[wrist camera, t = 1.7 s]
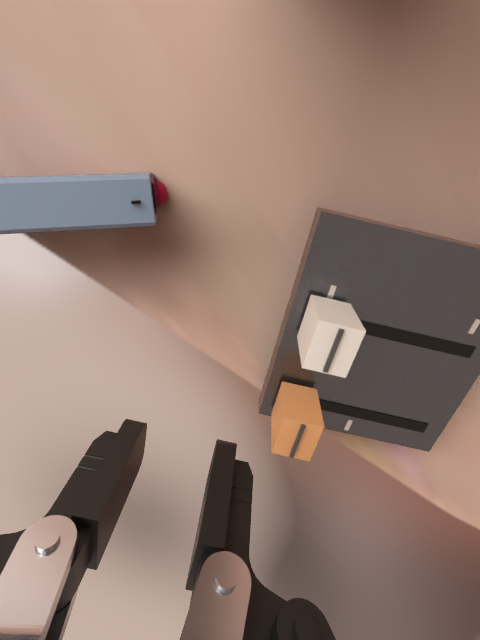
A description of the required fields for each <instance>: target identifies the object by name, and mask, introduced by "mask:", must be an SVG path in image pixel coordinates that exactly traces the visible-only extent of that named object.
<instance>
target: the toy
mask: <svg viewBox="0 0 480 640" xmlns="http://www.w3.org/2000/svg"><path fill="white" fill-rule="evenodd" d="M166 199H167V189H166V187H165V186H164V184H162V183H160V182H158V181H156V179H154V174H152V173H130V174H96V175H94V174H93V175H62V176H28V177H0V234H11V233H30V232H49V231H68V230H86V229H105V228H124V227H142V226H156V224H157V220H158V216H157V212H158V207H159V205H160V204H162V203H164V202H165V201H166Z"/></svg>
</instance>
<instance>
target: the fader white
mask: <svg viewBox="0 0 480 640" xmlns="http://www.w3.org/2000/svg"><path fill="white" fill-rule="evenodd" d="M365 333H366V330H365V328H364V327H363V325H362V323H361V321H360V319H359V318H358V316H357V314H356V312H355V310H354V309H353V307H352V305H351V304H350V303H346V302H341V301H337V300H333V299H329V298H324V297H320V296H316V295H311V296H310V299H309V302H308V305H307V308H306V311H305V314H304V317H303V320H302V323H301V326H300V329H299V332H298V335H297V340H298V346H299V353H300V360H301V366H302V368H304V369H308V370H313V371H317V372H321V373H326V374H330V375H335V376H339V377H343V378H346V376H347V374H348V372H349V370H350V367H351V365H352V363H353V360H354V358H355V356H356V354H357V351H358V349H359V347H360V344H361V342H362V340H363V337H364V335H365Z"/></svg>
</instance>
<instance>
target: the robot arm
mask: <svg viewBox="0 0 480 640" xmlns="http://www.w3.org/2000/svg"><path fill="white" fill-rule="evenodd" d="M146 430H147V423H142V422H138V421H133V420H129V419H126V420H125V421H124V422H123V424H122V426H121V428H120V429H119V431H118V433H114V432H109V431H106V432H104V433H103V434H102V435H100V436H99V437H98V438H97V439H95V440H94V441H93V442H92V444H91V446H90V447H89V449H88V450H87V452H86V454H85V456H84V457H83V458H82V460H81V461H80V463H79V465H78V467H77V468H76V469H75V471H74V472H73V474H72V476H71V477H70V479H69V480H68V482H67V484H66V485H65V487H64V488H63V490H62V492H61V493H60V495H59V496H58V498H57V500H56V501H55V503H54V504H53V506H52V508H51V509H50V510H49V512H48V513H47V514H46V515H45V516H44V517H43V518H41V519H39V520H37V521H36V522H34V523H33V524H31V525H30V526H29V527H28V528H27V529H25V530H22V531H19V532H16V533H11V534H3V535H0V640H62V638H63V635H64V632H65V629H66V626H67V623H68V620H69V617H70V613H71V610H72V607H73V604H74V601H75V598H76V594H77V589H78V586H79V584H80V582H81V580H82V578H83V575H84V573H85V571H86V569H87V568H90V569H95V570H97V568H98V565H99V563H100V561H101V558H102V556H103V554H104V551H105V549H106V546H107V544H108V542H109V539H110V537H111V535H112V532H113V530H114V528H115V525H116V523H117V521H118V518H119V516H120V513H121V511H122V509H123V506H124V504H125V502H126V499H127V497H128V495H129V492H130V490H131V488H132V485H133V483H134V481H135V478H136V476H137V474H138V471H139V468H140V466H141V462H142V459H143V454H144V447H145V438H146ZM236 447H237V444H236V443H231V442H227V441H222V440H217V441H216V446H215V449H214V453H213V457H212V461H211V465H210V470H209V474H208V478H207V483H206V488H205V493H204V498H203V504H202V509H201V514H200V518H199V523H198V528H197V534H196V538H195V544H194V549H193V554H192V559H191V564H190V569H189V574H188V579H187V584H186V589H187V590H191V591H193V592H192V597H191V602H190V608H189V611H188V615H187V618H186V621H185V625H184V628H183V631H182V634H181V637H180V640H336V639H335V637H334V635H333V633H332V631H331V628H330V626H329V624H328V622H327V620H326V618H325V616H324V615H323V613H322V612H321V611H320V610H319V609H318V607H316V606H315V605H314V604H313V603H311V602H310V601H308V600H305V599H302V598H294V599H291V600H289V601H285V600H284V599H282V598H281V597H279V596H278V595H276V594H274V593H273V592H271V591H270V590H268V589H267V588H266V587H264V586H263V585H262V584H261V583H260V582H259V580H258V579H257V578H256V577H255V574H254V572H253V570H252V568H251V564H250V561H249V543H250V524H251V504H252V488H253V475H252V472H251V469H250V466H249V464H248V462H244V461H239V460H235V455H236Z"/></svg>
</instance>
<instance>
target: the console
mask: <svg viewBox="0 0 480 640" xmlns="http://www.w3.org/2000/svg"><path fill="white" fill-rule="evenodd" d="M311 295H316V296H320V297H324V298H329V299H333V300H337V301H341V302H346V303H350V304H351V305H352V307H353V309H354V310H355V312H356V314H357V316H358V318H359V319H360V321H361V323H362V325H363V327H364V328H365V330H366V333H365V335H364V337H363V340H362V342H361V344H360V347H359V349H358V351H357V354H356V356H355V358H354V360H353V363H352V365H351V367H350V370H349V372H348V374H347V376H346V378H343V377H339V376H335V375H330V374H326V373H321V372H317V371H313V370H308V369H304V368H302V366H301V360H300V353H299V346H298V340H297V335H298V332H299V329H300V326H301V323H302V320H303V317H304V314H305V311H306V308H307V305H308V302H309V299H310V296H311ZM479 374H480V246H479V245H475V244H470V243H466V242H462V241H458V240H454V239H449V238H445V237H441V236H437V235H432V234H428V233H424V232H420V231H416V230H411V229H407V228H403V227H399V226H394V225H390V224H386V223H382V222H378V221H373V220H369V219H365V218H361V217H356V216H352V215H348V214H344V213H340V212H335V211H331V210H327V209H323V208H317V211H316V214H315V218H314V221H313V224H312V227H311V231H310V234H309V237H308V241H307V244H306V247H305V250H304V254H303V257H302V260H301V264H300V267H299V270H298V273H297V277H296V280H295V283H294V287H293V290H292V293H291V296H290V300H289V303H288V306H287V310H286V313H285V316H284V320H283V323H282V326H281V329H280V333H279V336H278V339H277V343H276V346H275V349H274V352H273V356H272V359H271V362H270V366H269V369H268V372H267V375H266V379H265V382H264V385H263V389H262V392H261V395H260V399H259V413H260V414H264V415H269V416H271V413H272V410H273V407H274V404H275V401H276V398H277V395H278V392H279V389H280V386H281V383H282V381H283V382H287V383H292V384H296V385H301V386H305V387H309V388H314V389H317V392H318V397H319V402H320V407H321V412H322V417H323V422H324V428H326V429H331V430H335V431H340V432H344V433H349V434H353V435H358V436H362V437H366V438H371V439H375V440H380V441H384V442H389V443H393V444H398V445H402V446H406V447H411V448H415V449H420V450H424V451H430V449H431V448H432V446H433V445H434V443H435V442H436V440H437V438H438V437H439V435H440V434H441V432H442V431H443V429H444V428H445V426H446V425H447V423H448V422H449V420H450V419H451V417H452V415H453V414H454V412H455V411H456V409H457V408H458V406H459V405H460V403H461V402H462V400H463V399H464V397H465V395H466V394H467V392H468V391H469V389H470V388H471V386H472V385H473V383H474V382H475V380H476V379H477V377H478V376H479Z"/></svg>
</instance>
